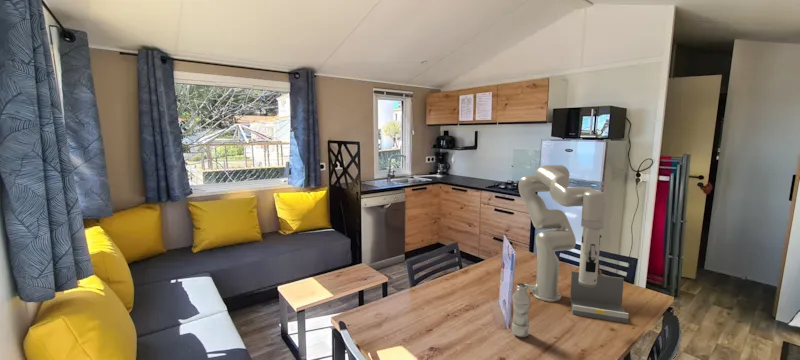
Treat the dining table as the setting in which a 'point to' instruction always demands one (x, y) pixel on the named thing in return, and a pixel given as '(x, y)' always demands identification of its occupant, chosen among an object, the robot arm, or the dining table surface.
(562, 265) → the dining table surface
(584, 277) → the travel mug
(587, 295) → the grey bookend
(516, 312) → the plastic bottle
